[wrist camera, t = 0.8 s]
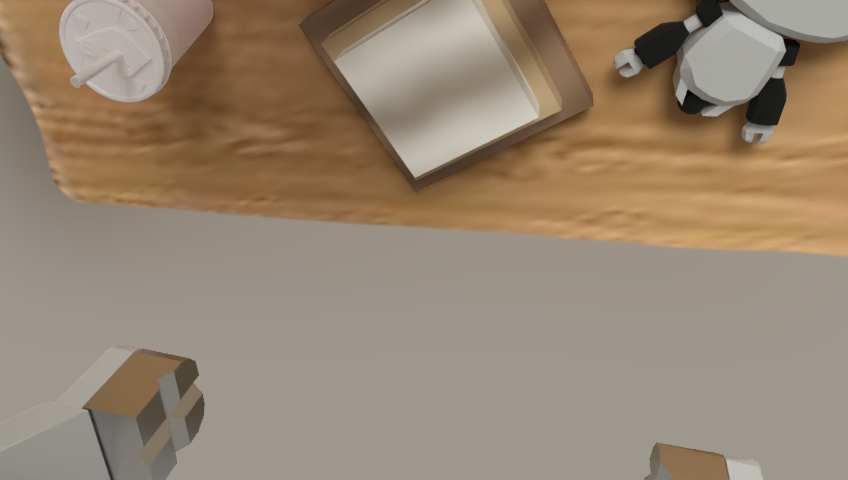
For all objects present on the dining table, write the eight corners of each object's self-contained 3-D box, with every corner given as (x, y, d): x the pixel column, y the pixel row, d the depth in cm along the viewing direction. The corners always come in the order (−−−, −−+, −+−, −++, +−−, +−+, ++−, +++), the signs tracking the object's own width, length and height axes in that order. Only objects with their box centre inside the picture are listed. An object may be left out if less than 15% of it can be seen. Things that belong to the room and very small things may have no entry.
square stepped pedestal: (308, 16, 45) (277, 45, 40) (488, -106, 39) (478, -88, 34) (420, 177, 51) (404, 220, 46) (592, 93, 44) (595, 133, 40)
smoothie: (234, 57, 47) (131, 146, 36) (149, 40, 48) (21, 123, 37) (230, -37, 44) (114, 30, 32) (137, -54, 44) (-9, 7, 33)
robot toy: (756, 132, 45) (956, -83, 36) (769, 167, 42) (995, -59, 32) (599, 48, 44) (763, -198, 34) (599, 78, 40) (782, -186, 31)
